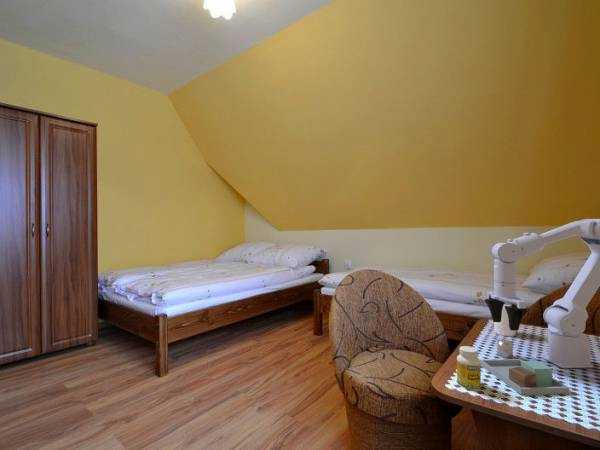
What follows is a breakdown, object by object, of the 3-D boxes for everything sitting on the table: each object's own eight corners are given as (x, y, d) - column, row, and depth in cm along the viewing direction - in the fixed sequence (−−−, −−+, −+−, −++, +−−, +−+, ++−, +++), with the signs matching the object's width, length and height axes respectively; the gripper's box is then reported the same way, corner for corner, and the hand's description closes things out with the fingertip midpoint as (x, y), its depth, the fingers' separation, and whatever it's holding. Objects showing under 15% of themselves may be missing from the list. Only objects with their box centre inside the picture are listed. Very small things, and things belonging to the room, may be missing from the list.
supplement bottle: (469, 380, 83) (469, 344, 83) (486, 390, 77) (485, 352, 77) (452, 382, 81) (451, 345, 81) (467, 393, 76) (467, 354, 76)
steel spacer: (506, 355, 98) (506, 339, 98) (516, 360, 94) (516, 344, 94) (494, 355, 98) (494, 339, 98) (503, 360, 94) (503, 344, 94)
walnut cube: (520, 381, 80) (520, 366, 80) (536, 389, 77) (536, 373, 77) (508, 384, 79) (508, 368, 79) (524, 392, 75) (524, 375, 75)
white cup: (521, 337, 113) (521, 310, 113) (497, 336, 115) (497, 309, 115) (511, 330, 121) (511, 304, 121) (489, 329, 122) (489, 303, 122)
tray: (519, 365, 91) (519, 358, 91) (569, 396, 75) (569, 387, 75) (479, 366, 90) (479, 359, 90) (520, 397, 74) (520, 388, 74)
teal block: (537, 377, 83) (537, 360, 82) (552, 386, 78) (552, 368, 78) (521, 378, 82) (521, 361, 82) (534, 387, 78) (534, 369, 78)
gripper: (477, 277, 103) (478, 318, 103) (509, 286, 89) (509, 334, 89) (498, 277, 104) (498, 318, 104) (533, 286, 89) (533, 333, 89)
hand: (505, 325), depth 96 cm, fingers open, 7 cm apart
